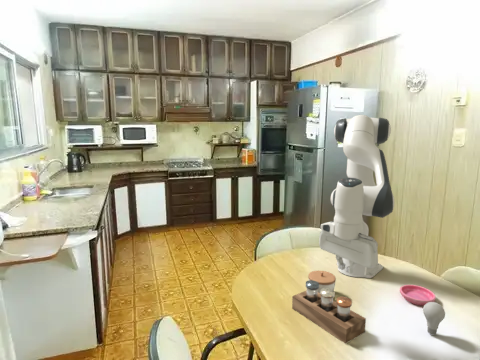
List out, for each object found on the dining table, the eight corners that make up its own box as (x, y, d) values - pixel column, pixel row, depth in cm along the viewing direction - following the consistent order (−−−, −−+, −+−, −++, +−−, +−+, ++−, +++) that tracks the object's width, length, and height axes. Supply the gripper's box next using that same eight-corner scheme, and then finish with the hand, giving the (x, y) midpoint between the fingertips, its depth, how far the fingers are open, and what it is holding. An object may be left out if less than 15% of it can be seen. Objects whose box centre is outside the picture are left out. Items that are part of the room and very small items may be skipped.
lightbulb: (416, 329, 107) (419, 298, 105) (434, 327, 108) (437, 297, 106) (429, 341, 101) (432, 309, 99) (447, 339, 102) (450, 308, 100)
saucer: (434, 295, 128) (434, 288, 128) (436, 311, 117) (436, 303, 117) (399, 288, 134) (400, 281, 133) (398, 303, 123) (399, 295, 123)
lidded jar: (302, 292, 131) (302, 271, 129) (319, 285, 137) (319, 264, 136) (323, 304, 122) (324, 281, 121) (340, 295, 129) (341, 273, 127)
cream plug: (326, 302, 115) (326, 286, 114) (336, 308, 111) (337, 292, 110) (316, 306, 112) (317, 290, 111) (327, 313, 108) (328, 296, 107)
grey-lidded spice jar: (311, 294, 121) (312, 279, 120) (321, 300, 117) (321, 284, 116) (302, 298, 118) (302, 282, 117) (312, 304, 114) (312, 288, 113)
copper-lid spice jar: (342, 311, 109) (342, 295, 108) (353, 318, 105) (354, 301, 104) (332, 316, 107) (333, 299, 106) (344, 323, 103) (345, 305, 102)
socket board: (310, 300, 125) (311, 288, 124) (364, 332, 105) (365, 318, 105) (292, 308, 120) (292, 296, 119) (345, 343, 100) (346, 329, 99)
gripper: (384, 236, 94) (380, 280, 97) (329, 220, 111) (327, 258, 113) (371, 241, 91) (368, 286, 93) (316, 223, 108) (315, 262, 110)
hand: (345, 270), depth 103 cm, fingers closed
